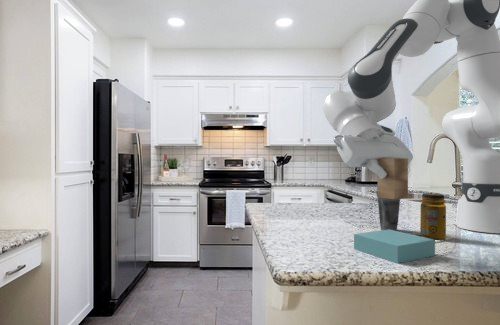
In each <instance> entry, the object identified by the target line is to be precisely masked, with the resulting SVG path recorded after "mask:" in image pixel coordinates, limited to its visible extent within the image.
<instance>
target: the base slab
mask: <svg viewBox="0 0 500 325" xmlns="http://www.w3.org/2000/svg"><path fill="white" fill-rule="evenodd" d="M416 235H417V234H412V233H411V234H410V233H407V232H403V231H398V230H397V231H394V230H381V229H380V230H376V231H368V232H359V233H353V249H354V250H356V251H358V252H359V251H360V252H362V253H365V254H369V255H372V256H375V257H378V258H381V259H383V260H386V259H387V261H389V262H393V263H396V264H400V262H401V263H406V262H410V261H416V260H420V259H425V257H426V258H430V256H431V257H435V256H436V242H435V240H434V239H429V238H425V237H420V236H416ZM434 255H435V256H434Z"/></svg>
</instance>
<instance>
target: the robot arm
mask: <svg viewBox="0 0 500 325" xmlns="http://www.w3.org/2000/svg"><path fill="white" fill-rule="evenodd" d="M499 11H500V0H416V1H415V2H414V3H413V4H411V7H410V8H409V9H408V10H407V11H406V12H405V14H404V15H403V17H402V18H401V19H399V20H397V21H395V22H394V23H393V24H392V25H391V26H390V27H389V28H388V29H387V30H386V31H385V32H384V34H383V35H382V36H381V37H380V39H378V41H377V42H376V43H375V44H374V46H373V47H372V48H371V49H370V51H368V52H367V54H365V55H364V56H363V57H362V58H360V59H359V60H358V61H357V62H355V64H353V66H352V67H351V68H350V70H349V72H348V74H347V83H348V85H349V88H350V89H351V90H350V91H349V90H346V91H343V90H339V89H338V90H337V89H336V90H335V91H332V92H331V93H330V94H328V95H327V96H326V98H325V100H324V102H323V107H322V108H323V109H322V110H323V114H324V117H325V119H326V120H327V121H328V123H329V124H330V126H331V128H332V129H333V130H334V131H336V132H337V133H338V134H337V135H335V136H334V137H333V139H332V140H333V143H334V144H335V145H336V150H337V152H338V154H339V156H340V158H341V160H342V161H343V163H344V164H345V166H348V168H349V167H350V168H367V169H368V170H369V171H371V172H373V173H374V174H375V175H377V177H378V176H379V178H380V179H387V177H388V176H389V175H390V174H389V172H388V171H387V170H386V169H383V168H382V167H381V166H380V165H378V159H379V158H408V164H410V162H411V161H412V160H413V158H414V156H413V155H414V154H413V152H411V150H410V149H409V148H408V147H407V145H406V143H404V142H403V140H401V139H400V138H399V137H397V136H395V135H396V132H395V131H394V129H393V128H391V127H388V126H384V125H382V124H379V123H378V122H380V121H383V120H385V119H387V118H388V117H390V116H391V115H392V114H393V113H394V111H395V109H396V107H397V102H396V94H395V90H394V83H393V76H392V75H393V74H392V73H393V64H394V61H395V60H396V59H397V57H398V56H399V55H401V56H402V57H403V56H404V57H408V58H415V57H419V56H422V55H425V53H427V52H428V51H430V49H431V48H432V47H433V45H437V44H441V43H443V42H445V41H448V40H451V39H455V40H456V41H457V45H456V60H457V73H458V82H459V86H460V88H461V89H462V90H464V91H466V92H469V93H472V94H473V95H474V96H475V97H476V99H477V102H478V103H477V104H473V105H472V104H471V105H466V106H465V105H464V106H461V107H458V108H456V109H453V110H451V111H448V112H447V113H446V114H444V116H443V118H442V121H441V129H442V131H443V133H444V135H445V136H446V137H448V138H449V139H450V140H452V142H454V144H455V145H456V147H457V149H458V150H459V154H460V156H461V160H462V162H461V163H462V182H461V184H460V185H461V186H460V189H461V190H460V192H461V193H460V194H462V196H461V197H460V198H459V199H458V200H457V208H456V219H455V220H452V224H453V225H455V226H456V227H457V228H460V229H463V230H468V231H472V232H479V233H480V232H481V233H488V234H489V233H490V234H500V152H499V151H497V150H495V149H493V147H492V145H491V143H490V139H495V138H500V35H499V33H498V29H497V27H496V24H495V22H496V19H497V17H498V15H499Z"/></svg>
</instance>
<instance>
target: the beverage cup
mask: <svg viewBox="0 0 500 325" xmlns="http://www.w3.org/2000/svg"><path fill="white" fill-rule="evenodd" d="M375 193H376V198H377V204H378V205H377V206H378V215H379V216H378V218H379V225H380V231H381V230H394V231H398V226H399V217H400V216H399V215H400V205H401V200H402V199H389V198H381V197H378V185H377V186H376V191H375Z"/></svg>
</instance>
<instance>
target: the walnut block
mask: <svg viewBox="0 0 500 325" xmlns="http://www.w3.org/2000/svg"><path fill="white" fill-rule="evenodd" d="M378 165H380V166H381V167H382V168H383V169H386V170H387V171H388V172H389V174H390V175H389V176H388V177H387V179H380V178H379V176H378V175H377V186H378V197H381V198H389V199H401V200H403V199H408V198H409V163H408V158H379V159H378Z"/></svg>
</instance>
